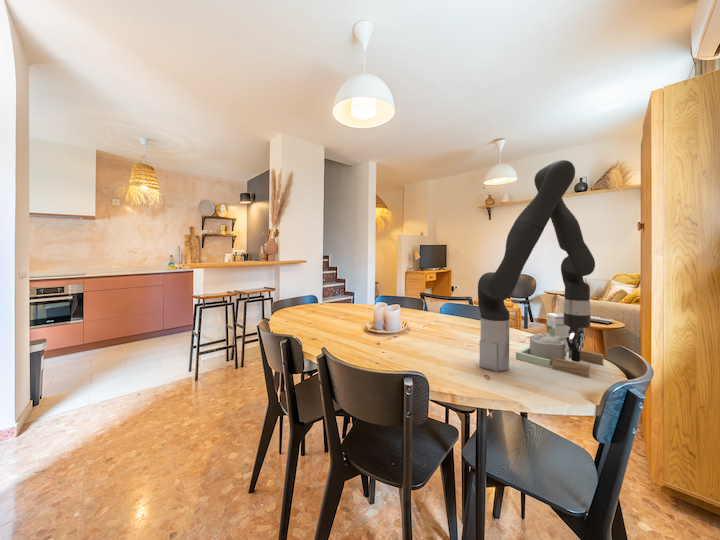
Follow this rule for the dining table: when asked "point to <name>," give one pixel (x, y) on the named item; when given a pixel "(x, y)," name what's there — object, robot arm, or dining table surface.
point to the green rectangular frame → (533, 357)
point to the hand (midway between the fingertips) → (575, 361)
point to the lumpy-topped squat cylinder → (547, 346)
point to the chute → (577, 367)
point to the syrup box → (557, 327)
